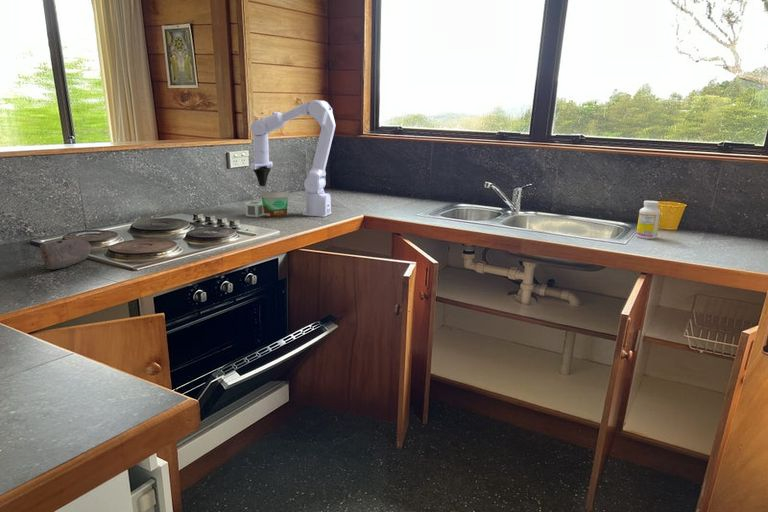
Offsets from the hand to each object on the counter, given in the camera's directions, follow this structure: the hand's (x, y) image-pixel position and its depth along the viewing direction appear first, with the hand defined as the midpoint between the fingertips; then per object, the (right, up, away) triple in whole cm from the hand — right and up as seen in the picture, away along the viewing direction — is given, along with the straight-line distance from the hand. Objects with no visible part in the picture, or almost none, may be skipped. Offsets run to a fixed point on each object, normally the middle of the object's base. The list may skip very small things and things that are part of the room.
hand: (262, 185), depth 211 cm
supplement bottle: (+142, -22, -26) cm, 146 cm away
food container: (+8, -13, -7) cm, 17 cm away
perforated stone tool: (-32, -31, -76) cm, 88 cm away
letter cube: (-2, -12, -6) cm, 14 cm away
